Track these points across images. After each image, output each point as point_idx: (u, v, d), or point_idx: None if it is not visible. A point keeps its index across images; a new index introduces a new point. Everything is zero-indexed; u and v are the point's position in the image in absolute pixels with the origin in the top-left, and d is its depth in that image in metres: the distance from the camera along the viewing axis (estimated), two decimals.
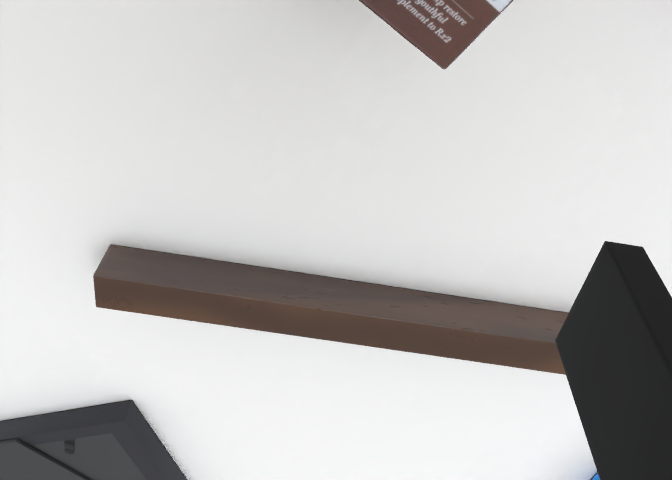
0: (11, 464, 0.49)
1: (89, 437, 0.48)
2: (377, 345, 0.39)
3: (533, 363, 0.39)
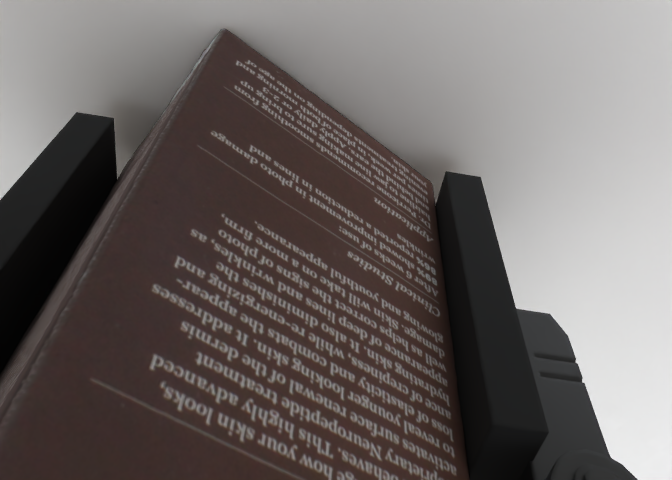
0: None
1: None
2: None
3: None
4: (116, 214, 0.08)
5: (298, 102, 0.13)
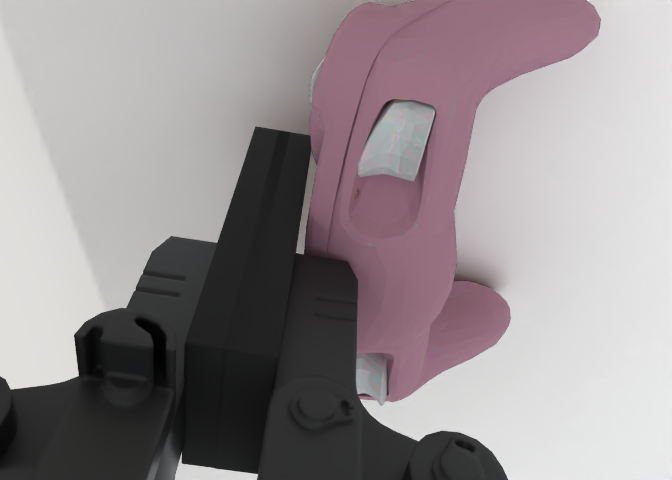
0: None
1: None
2: None
3: None
4: None
5: None
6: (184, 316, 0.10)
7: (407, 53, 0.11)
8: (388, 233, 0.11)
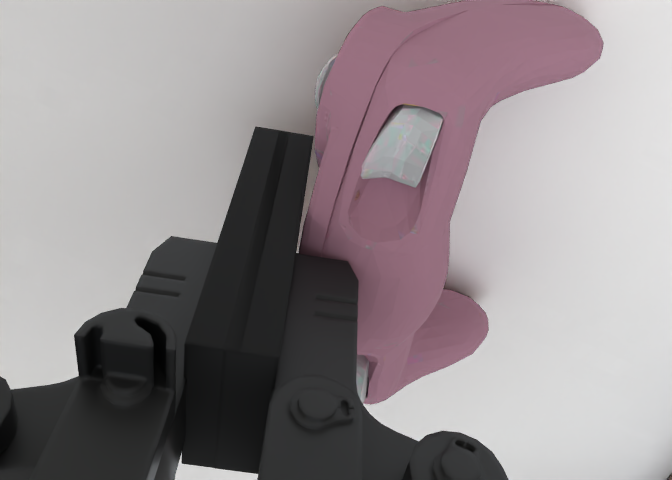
0: None
1: None
2: None
3: None
4: None
5: None
6: (183, 316, 0.10)
7: (419, 60, 0.11)
8: (385, 237, 0.11)
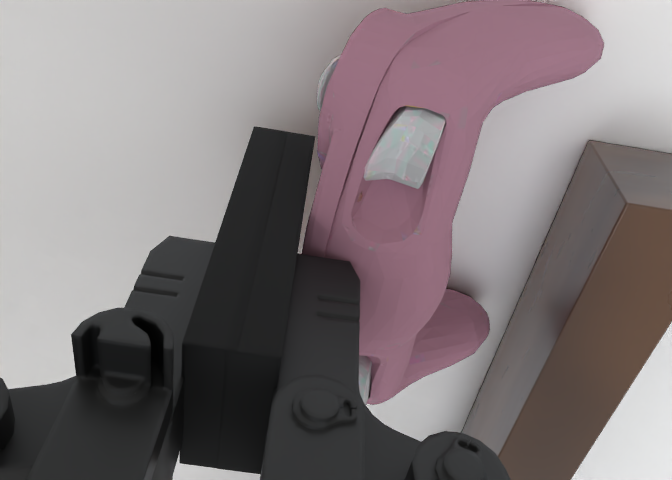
0: None
1: None
2: None
3: (595, 406, 0.18)
4: None
5: None
6: (182, 316, 0.10)
7: (421, 62, 0.11)
8: (388, 238, 0.12)
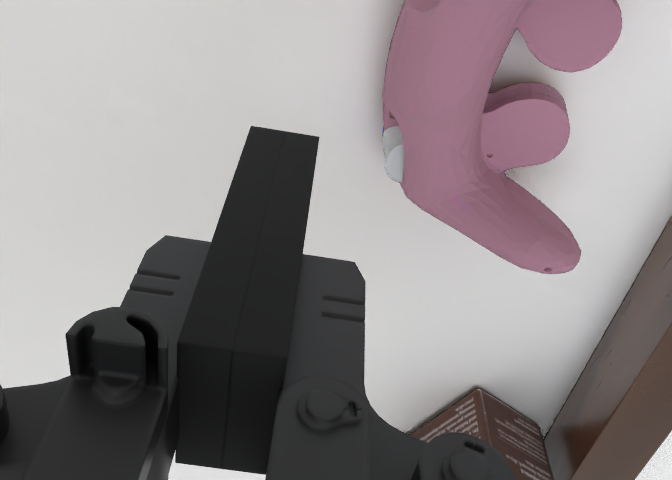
0: None
1: None
2: (640, 466, 0.26)
3: None
4: None
5: None
6: (177, 315, 0.10)
7: None
8: (418, 8, 0.16)
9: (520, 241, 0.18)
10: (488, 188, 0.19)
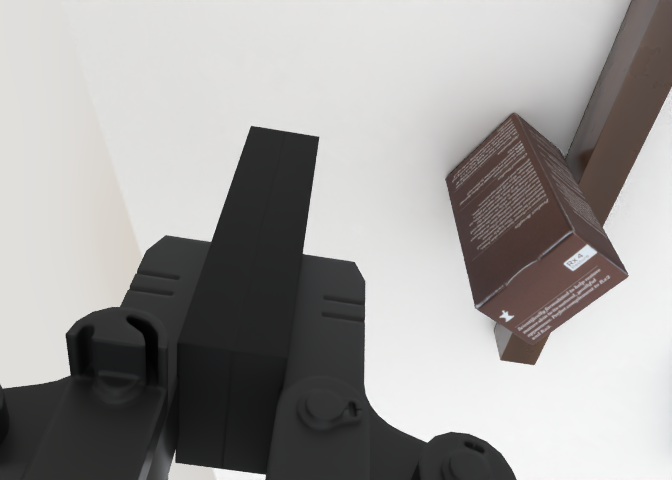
0: None
1: None
2: (635, 152, 0.35)
3: None
4: None
5: (468, 164, 0.38)
6: (177, 315, 0.10)
7: None
8: None
9: None
10: None
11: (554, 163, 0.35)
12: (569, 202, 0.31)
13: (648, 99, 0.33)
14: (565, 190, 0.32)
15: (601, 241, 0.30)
